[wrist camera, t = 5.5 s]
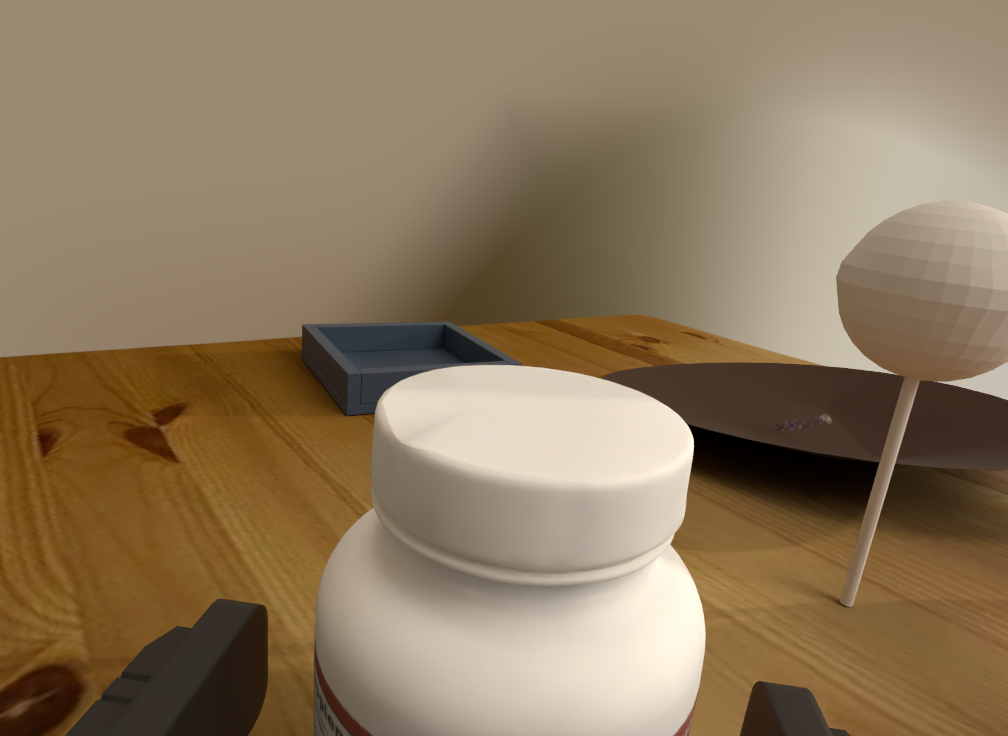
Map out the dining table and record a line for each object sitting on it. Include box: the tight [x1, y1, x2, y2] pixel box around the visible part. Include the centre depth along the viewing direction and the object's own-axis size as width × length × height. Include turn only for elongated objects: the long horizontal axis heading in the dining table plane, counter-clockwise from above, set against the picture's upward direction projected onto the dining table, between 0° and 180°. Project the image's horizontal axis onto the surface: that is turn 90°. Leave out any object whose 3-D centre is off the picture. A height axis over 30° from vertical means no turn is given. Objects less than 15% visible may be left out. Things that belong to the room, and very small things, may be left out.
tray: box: [302, 322, 521, 416], centre depth 45 cm, size 12×12×3 cm
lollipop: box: [836, 201, 1008, 607], centre depth 23 cm, size 6×6×15 cm
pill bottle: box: [314, 365, 706, 736], centre depth 11 cm, size 6×6×11 cm
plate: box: [602, 363, 1008, 470], centre depth 44 cm, size 28×28×4 cm
